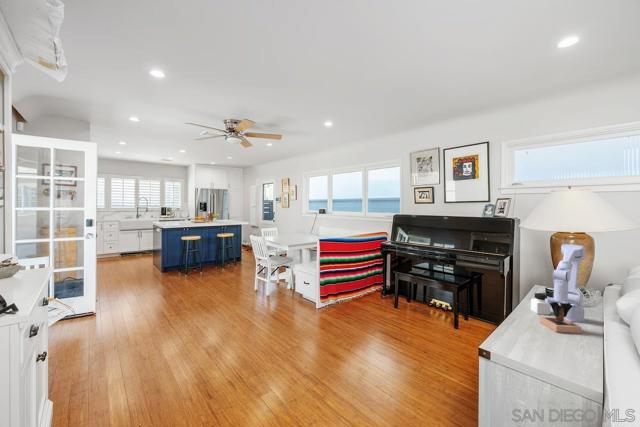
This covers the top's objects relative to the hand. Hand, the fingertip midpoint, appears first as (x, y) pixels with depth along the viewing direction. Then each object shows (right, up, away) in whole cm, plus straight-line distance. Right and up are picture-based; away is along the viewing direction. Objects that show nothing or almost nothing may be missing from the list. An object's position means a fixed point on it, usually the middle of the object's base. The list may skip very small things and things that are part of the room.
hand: (559, 316), depth 145 cm
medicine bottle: (+7, -6, +22) cm, 24 cm away
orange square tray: (0, -7, 0) cm, 6 cm away
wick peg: (0, -2, 0) cm, 2 cm away
